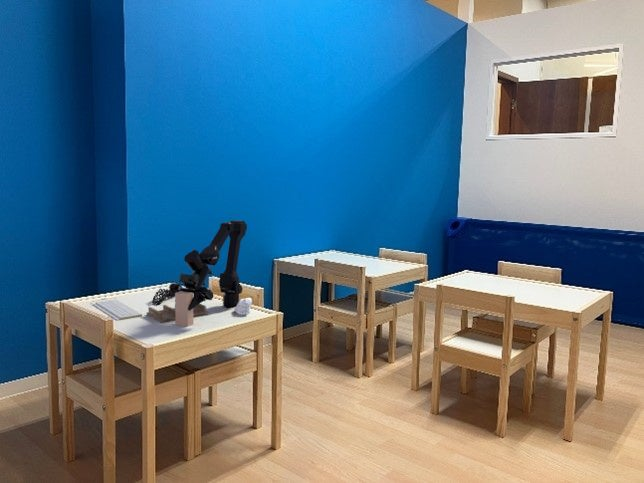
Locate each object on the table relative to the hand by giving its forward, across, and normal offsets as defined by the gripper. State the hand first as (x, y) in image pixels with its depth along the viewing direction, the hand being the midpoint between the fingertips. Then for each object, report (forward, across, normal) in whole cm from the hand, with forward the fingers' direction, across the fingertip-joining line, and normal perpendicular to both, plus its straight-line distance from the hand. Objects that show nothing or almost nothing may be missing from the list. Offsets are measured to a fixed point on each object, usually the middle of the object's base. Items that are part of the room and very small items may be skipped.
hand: (182, 309), depth 215 cm
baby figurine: (-15, +11, +25) cm, 31 cm away
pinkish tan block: (+4, 0, +6) cm, 7 cm away
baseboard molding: (+2, -40, +8) cm, 40 cm away
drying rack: (-4, -12, +13) cm, 18 cm away
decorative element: (-16, -33, +27) cm, 46 cm away
